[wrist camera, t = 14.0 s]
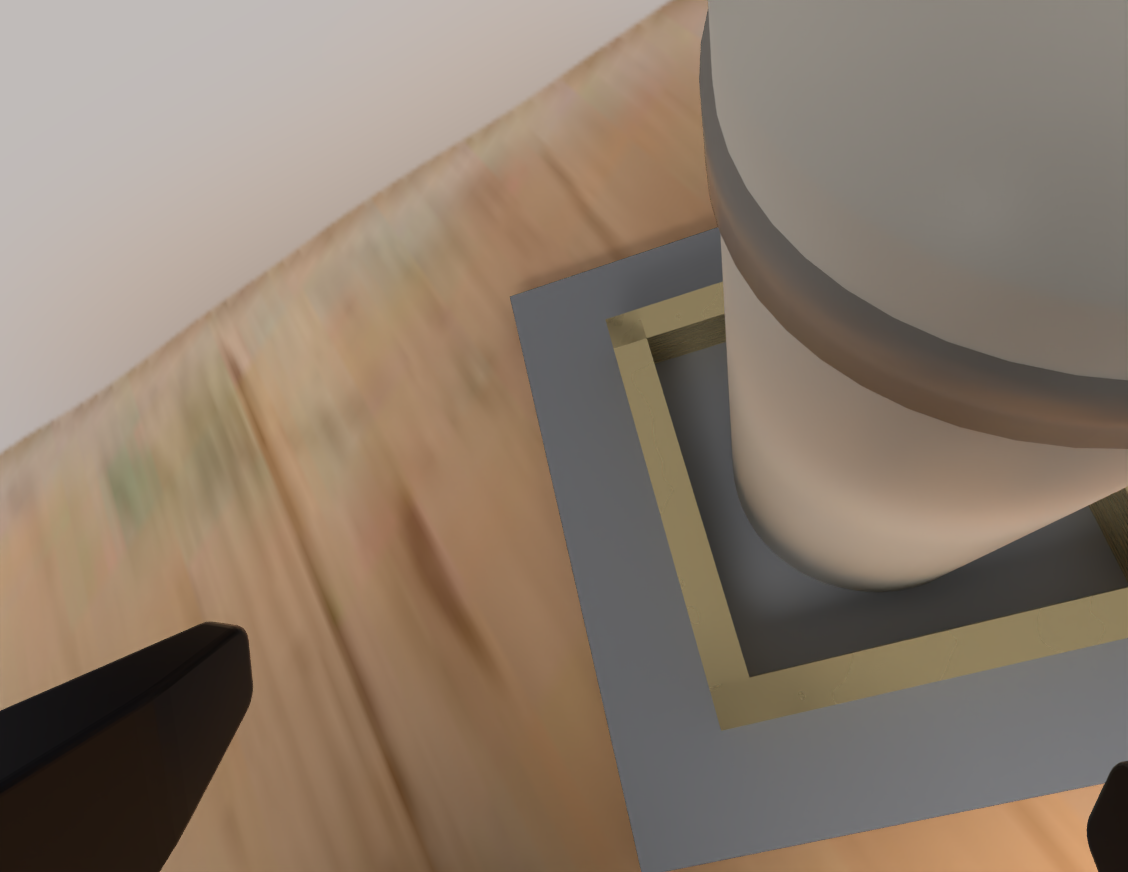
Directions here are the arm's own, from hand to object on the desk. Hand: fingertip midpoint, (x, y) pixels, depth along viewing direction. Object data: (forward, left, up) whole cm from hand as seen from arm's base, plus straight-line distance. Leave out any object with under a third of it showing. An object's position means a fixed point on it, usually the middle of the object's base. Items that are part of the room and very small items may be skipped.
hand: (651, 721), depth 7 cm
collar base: (+4, -5, -9) cm, 11 cm away
